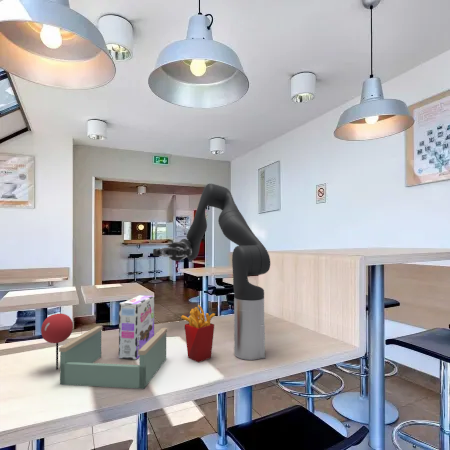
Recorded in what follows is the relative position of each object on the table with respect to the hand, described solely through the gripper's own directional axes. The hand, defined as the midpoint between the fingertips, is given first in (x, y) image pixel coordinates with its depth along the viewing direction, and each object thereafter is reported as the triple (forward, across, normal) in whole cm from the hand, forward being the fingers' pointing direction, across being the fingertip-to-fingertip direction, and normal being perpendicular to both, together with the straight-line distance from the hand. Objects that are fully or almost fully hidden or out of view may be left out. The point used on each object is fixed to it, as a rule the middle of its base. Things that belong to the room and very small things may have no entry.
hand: (167, 253), depth 114 cm
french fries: (+18, +14, +30) cm, 38 cm away
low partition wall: (+29, -5, +30) cm, 42 cm away
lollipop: (+30, -22, +30) cm, 48 cm away
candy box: (+15, -5, +30) cm, 34 cm away
